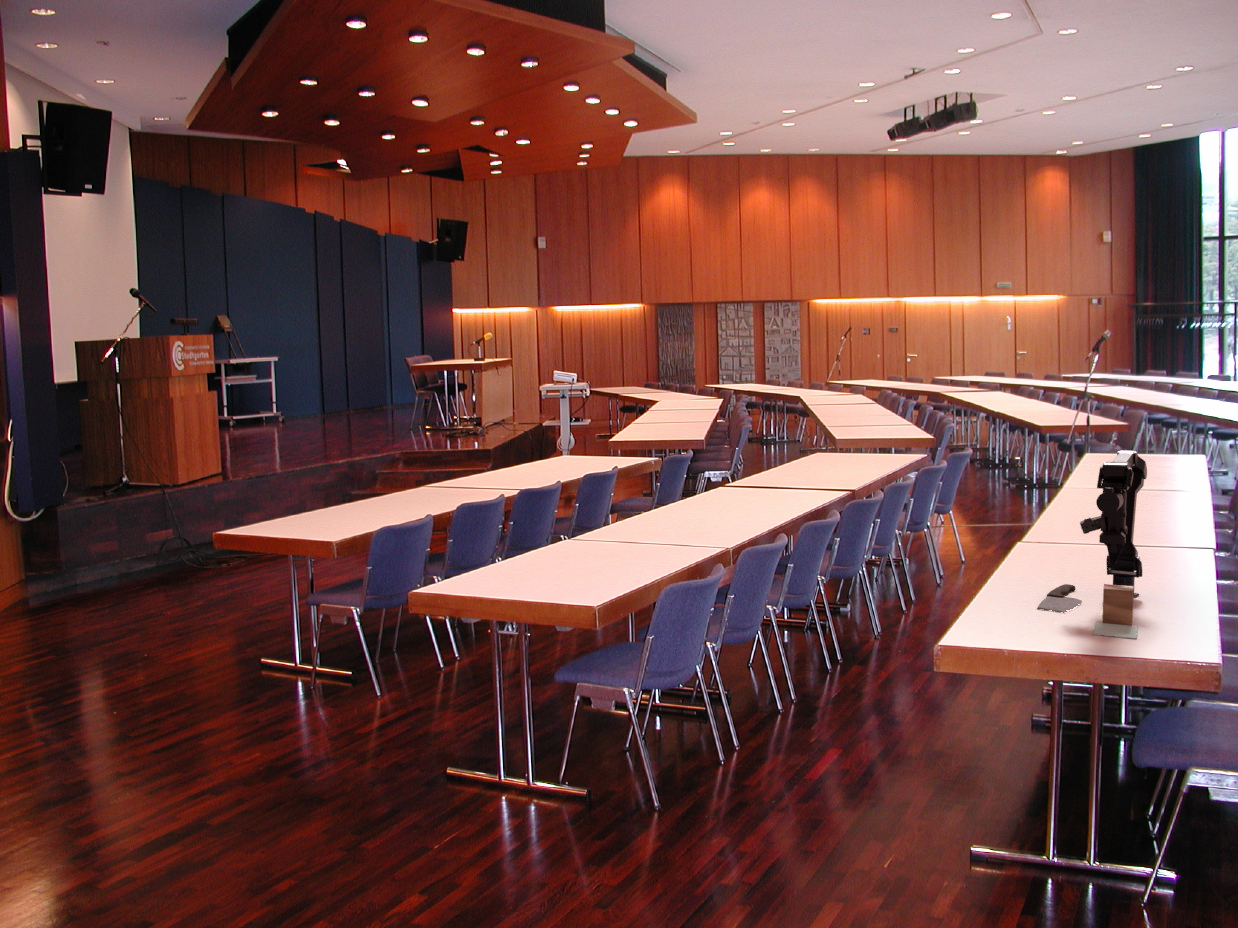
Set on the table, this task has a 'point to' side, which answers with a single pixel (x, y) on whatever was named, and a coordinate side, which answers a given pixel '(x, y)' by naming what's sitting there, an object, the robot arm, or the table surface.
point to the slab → (1117, 604)
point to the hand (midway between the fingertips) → (1112, 564)
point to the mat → (1116, 630)
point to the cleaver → (1060, 599)
